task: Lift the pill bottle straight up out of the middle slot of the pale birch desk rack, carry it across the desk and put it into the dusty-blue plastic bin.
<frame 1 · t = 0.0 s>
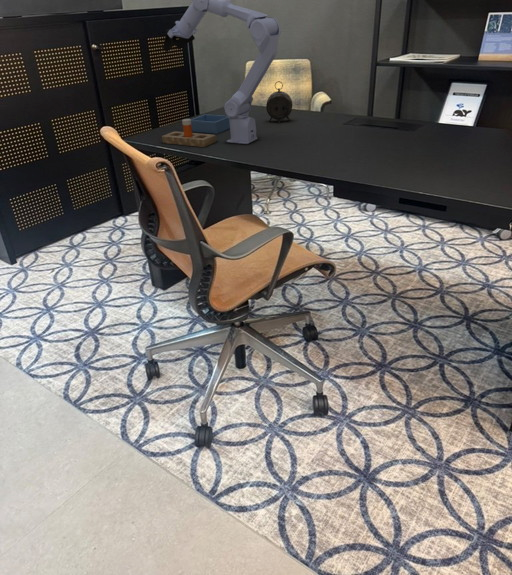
hand: (171, 48, 188), 32 cm above the table, tool tilted 50°, fingers open, 7 cm apart
pill bottle: (187, 131, 192), in the pen rack
alarm clock: (279, 122, 215), on the table
bin: (211, 129, 211), on the table
pen rack: (189, 142, 194), on the table
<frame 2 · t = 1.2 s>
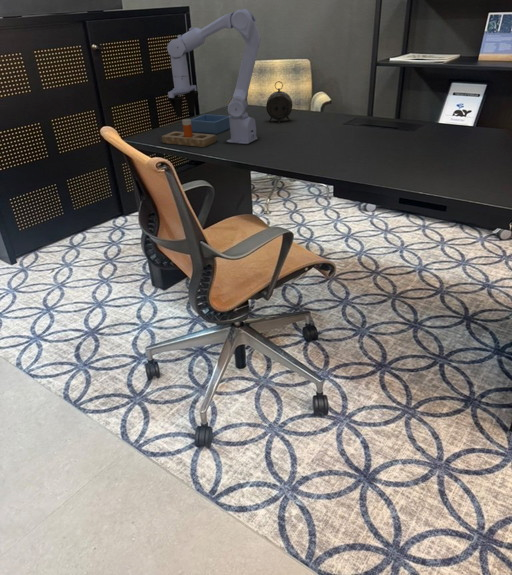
hand: (185, 114, 189), 10 cm above the table, tool pointing down, fingers open, 7 cm apart
nothing on the table moved.
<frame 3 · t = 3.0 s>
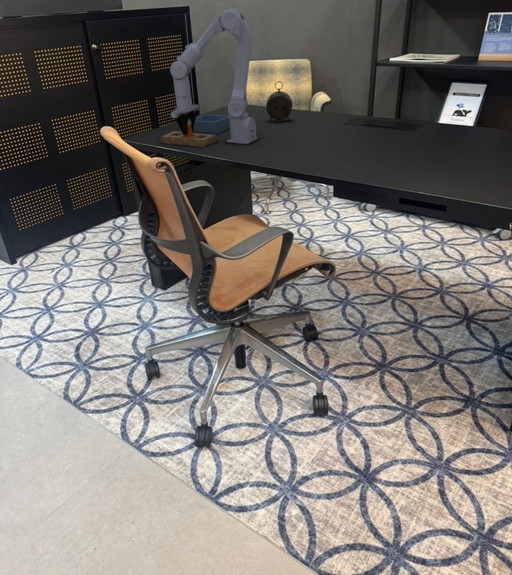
hand: (188, 133, 193), 3 cm above the table, tool pointing down, fingers closed on pill bottle, 3 cm apart
pill bottle: (187, 131, 192), in the pen rack, touching gripper
everything else where it was.
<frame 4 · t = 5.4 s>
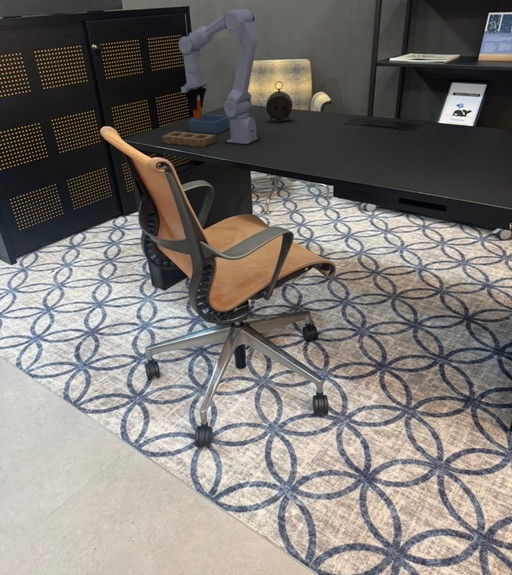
hand: (197, 108, 197), 10 cm above the table, tool pointing down, fingers closed on pill bottle, 3 cm apart
pill bottle: (196, 106, 197), point 11 cm above the table, touching gripper
everything else where it was.
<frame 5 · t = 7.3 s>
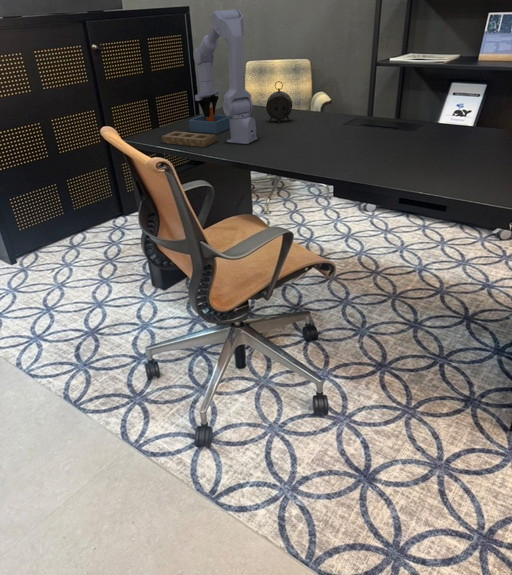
hand: (209, 115, 208), 6 cm above the table, tool pointing down, fingers closed on pill bottle, 3 cm apart
pill bottle: (209, 113, 207), point 6 cm above the table, touching gripper
everything else where it was.
when the fingers open (4 cm above the table, at t = 8.1 s): pill bottle stays where it is, resting on bin.
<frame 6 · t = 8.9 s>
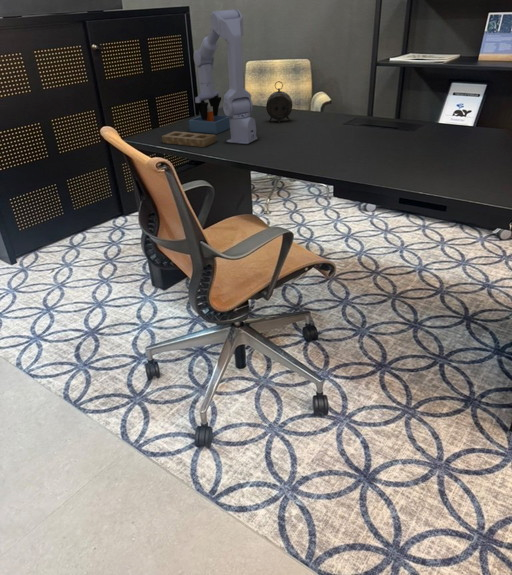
hand: (209, 117, 208), 5 cm above the table, tool pointing down, fingers open, 7 cm apart
pill bottle: (209, 117, 208), in the bin, point 5 cm above the table
everything else where it was.
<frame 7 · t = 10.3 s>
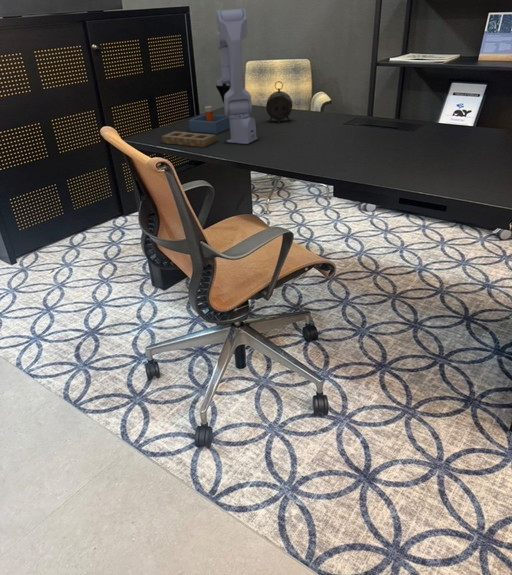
hand: (230, 101, 206), 10 cm above the table, tool pointing down, fingers open, 7 cm apart
nothing on the table moved.
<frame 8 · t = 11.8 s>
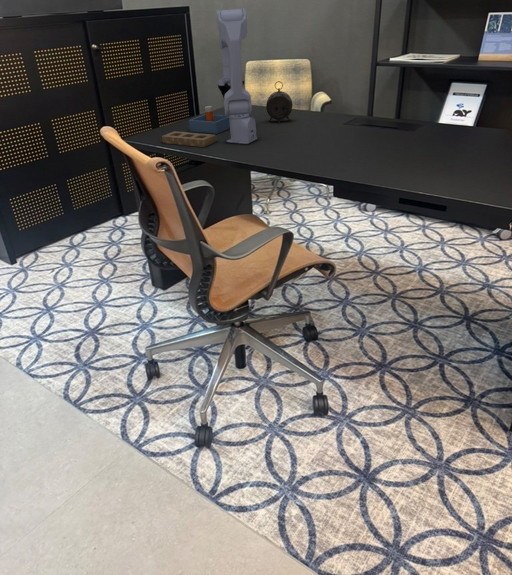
hand: (232, 101, 206), 10 cm above the table, tool pointing down, fingers open, 7 cm apart
nothing on the table moved.
at the end: pill bottle inside the target area in the bin (0.1 cm from its centre), point 4.8 cm above the bin's base; pill bottle touching bin; the gripper is holding nothing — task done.
